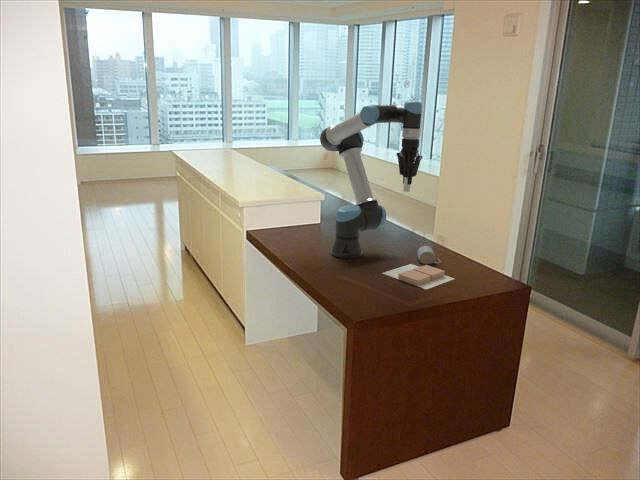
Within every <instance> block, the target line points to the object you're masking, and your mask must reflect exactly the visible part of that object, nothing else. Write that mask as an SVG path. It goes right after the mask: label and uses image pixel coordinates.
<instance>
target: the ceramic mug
mask: <svg viewBox="0 0 640 480" xmlns="http://www.w3.org/2000/svg"><path fill="white" fill-rule="evenodd" d="M416 253H417V255H416V256H417V258H418V260H419V262H420V264H423V265H424V264H425V265H432V264H441V260H440V259H439V258H437V257H436V255H435V253H434V250H433V249H432V247H430V246H428V245H422V246H420V247H419V248H418V250H417V252H416Z"/></svg>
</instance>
